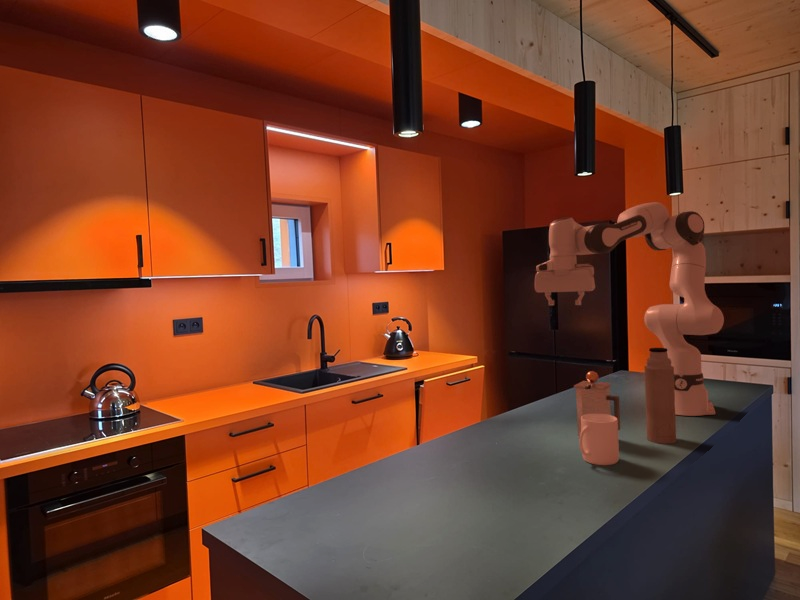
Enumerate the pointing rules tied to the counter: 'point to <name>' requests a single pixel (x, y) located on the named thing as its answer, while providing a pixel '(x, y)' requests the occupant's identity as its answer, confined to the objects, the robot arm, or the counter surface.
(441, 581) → the counter surface
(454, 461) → the counter surface
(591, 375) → the copper ball on rod
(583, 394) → the press carafe
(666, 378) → the thermos bottle
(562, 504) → the counter surface
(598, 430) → the mug
